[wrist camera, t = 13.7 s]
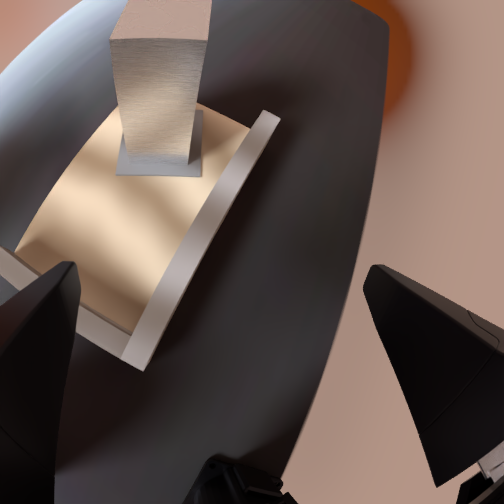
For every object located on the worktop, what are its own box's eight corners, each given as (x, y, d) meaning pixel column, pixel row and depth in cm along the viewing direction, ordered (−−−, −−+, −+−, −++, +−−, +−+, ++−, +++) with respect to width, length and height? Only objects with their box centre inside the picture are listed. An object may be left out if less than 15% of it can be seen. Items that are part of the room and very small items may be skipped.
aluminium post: (187, 164, 23) (207, 40, 11) (129, 163, 21) (109, 39, 10) (190, 118, 24) (212, -3, 12) (137, 117, 22) (131, -5, 11)
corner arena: (148, 363, 20) (143, 371, 16) (11, 272, 18) (-15, 261, 15) (266, 145, 26) (280, 118, 22) (143, 86, 25) (142, 56, 21)
